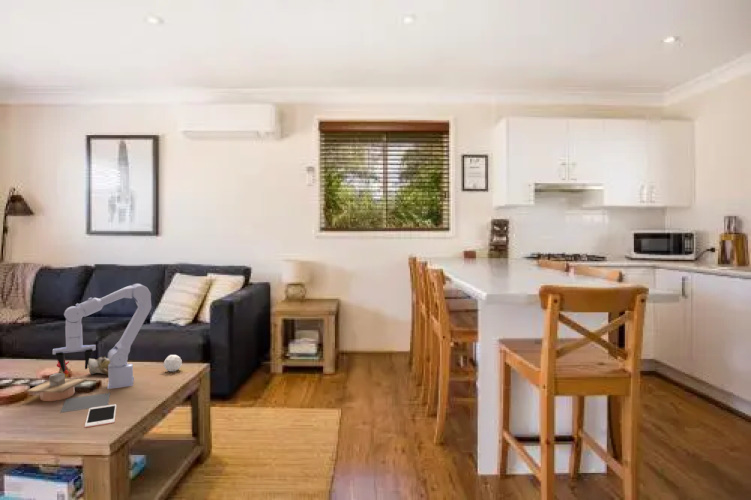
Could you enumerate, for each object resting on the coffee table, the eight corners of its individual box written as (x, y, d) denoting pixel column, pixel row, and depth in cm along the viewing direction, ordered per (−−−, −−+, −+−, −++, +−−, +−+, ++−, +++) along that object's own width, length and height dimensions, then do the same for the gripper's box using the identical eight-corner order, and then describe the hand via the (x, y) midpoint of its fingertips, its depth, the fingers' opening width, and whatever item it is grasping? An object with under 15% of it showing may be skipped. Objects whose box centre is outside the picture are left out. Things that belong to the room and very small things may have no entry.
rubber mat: (110, 393, 189) (110, 392, 189) (107, 406, 175) (107, 405, 175) (66, 400, 182) (66, 398, 182) (60, 413, 169) (60, 412, 169)
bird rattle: (55, 387, 203) (47, 385, 194) (58, 361, 206) (51, 358, 198) (71, 386, 204) (65, 384, 196) (74, 360, 208) (68, 357, 200)
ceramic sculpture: (94, 351, 220) (127, 353, 220) (94, 369, 220) (126, 371, 221) (81, 358, 209) (115, 360, 210) (80, 377, 209) (115, 379, 210)
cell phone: (84, 429, 157) (84, 426, 157) (89, 410, 173) (89, 407, 173) (114, 424, 161) (114, 421, 161) (116, 406, 177) (116, 403, 177)
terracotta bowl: (75, 390, 193) (75, 379, 193) (72, 399, 183) (72, 388, 183) (43, 394, 188) (43, 383, 188) (38, 403, 178) (37, 392, 178)
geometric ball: (169, 377, 217) (157, 366, 214) (175, 367, 225) (164, 355, 222) (181, 370, 216) (170, 358, 213) (187, 360, 223) (176, 348, 220)
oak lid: (86, 380, 192) (85, 369, 192) (61, 392, 178) (61, 380, 178) (53, 379, 193) (53, 369, 192) (26, 391, 179) (26, 380, 178)
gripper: (95, 332, 195) (96, 364, 195) (54, 336, 188) (55, 369, 189) (94, 336, 188) (95, 369, 189) (51, 340, 182) (52, 374, 183)
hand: (75, 369), depth 189 cm, fingers open, 7 cm apart
